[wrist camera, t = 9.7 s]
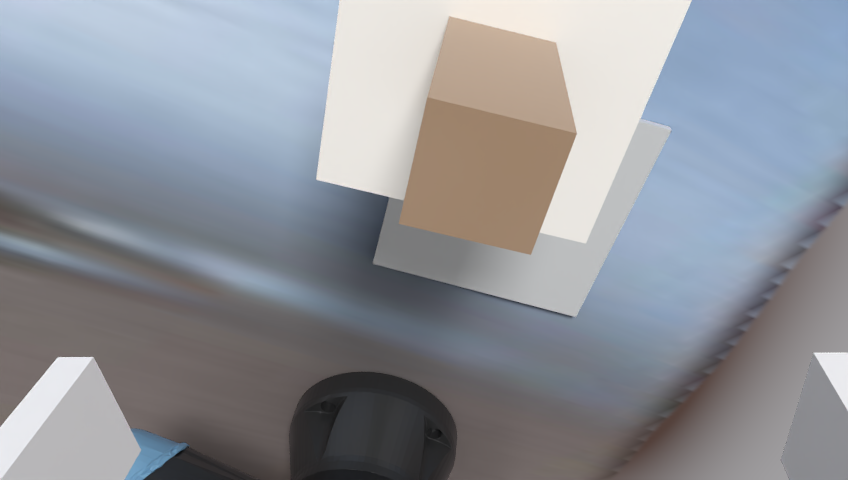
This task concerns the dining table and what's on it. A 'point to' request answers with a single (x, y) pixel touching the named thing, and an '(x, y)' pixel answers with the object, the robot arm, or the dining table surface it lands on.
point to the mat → (551, 257)
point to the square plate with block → (491, 108)
